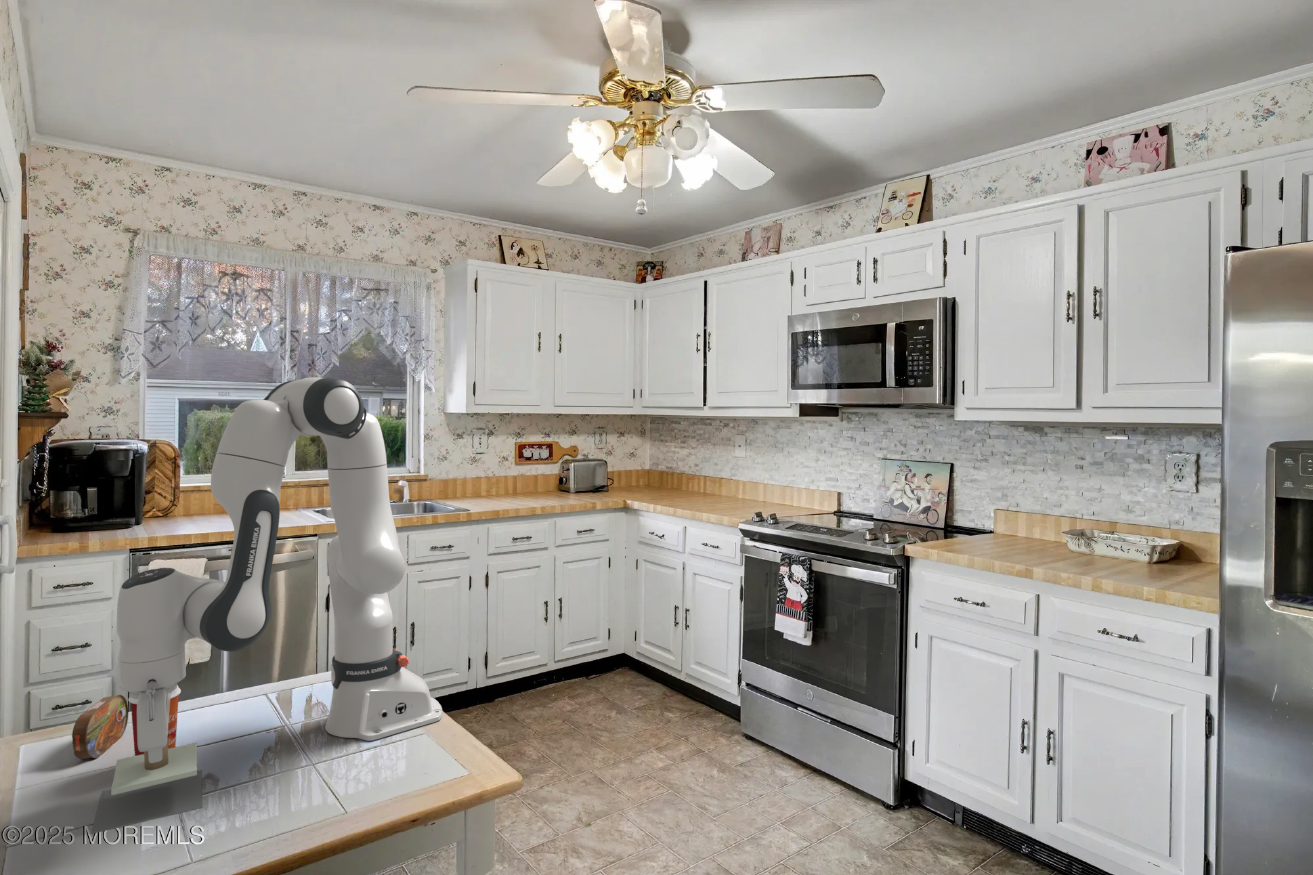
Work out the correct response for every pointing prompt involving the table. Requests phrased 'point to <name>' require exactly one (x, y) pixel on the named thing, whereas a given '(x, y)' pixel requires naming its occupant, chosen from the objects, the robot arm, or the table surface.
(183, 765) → the lid
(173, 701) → the paper cup
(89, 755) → the tin
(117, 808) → the mat
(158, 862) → the table surface
